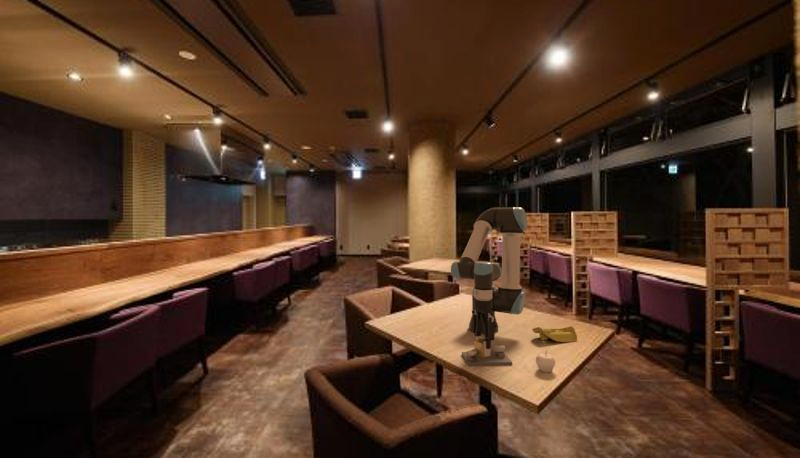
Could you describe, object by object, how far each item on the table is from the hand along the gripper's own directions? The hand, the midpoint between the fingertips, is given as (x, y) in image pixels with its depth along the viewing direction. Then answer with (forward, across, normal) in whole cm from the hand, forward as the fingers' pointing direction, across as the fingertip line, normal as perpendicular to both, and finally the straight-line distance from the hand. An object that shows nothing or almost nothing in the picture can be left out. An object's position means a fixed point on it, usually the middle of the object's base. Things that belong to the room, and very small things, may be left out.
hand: (482, 353), depth 154 cm
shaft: (+1, +2, -6) cm, 6 cm away
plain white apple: (+3, +19, +15) cm, 25 cm away
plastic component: (+2, -7, +46) cm, 47 cm away
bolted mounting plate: (+2, +1, +1) cm, 3 cm away
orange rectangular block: (+1, 0, 0) cm, 1 cm away
